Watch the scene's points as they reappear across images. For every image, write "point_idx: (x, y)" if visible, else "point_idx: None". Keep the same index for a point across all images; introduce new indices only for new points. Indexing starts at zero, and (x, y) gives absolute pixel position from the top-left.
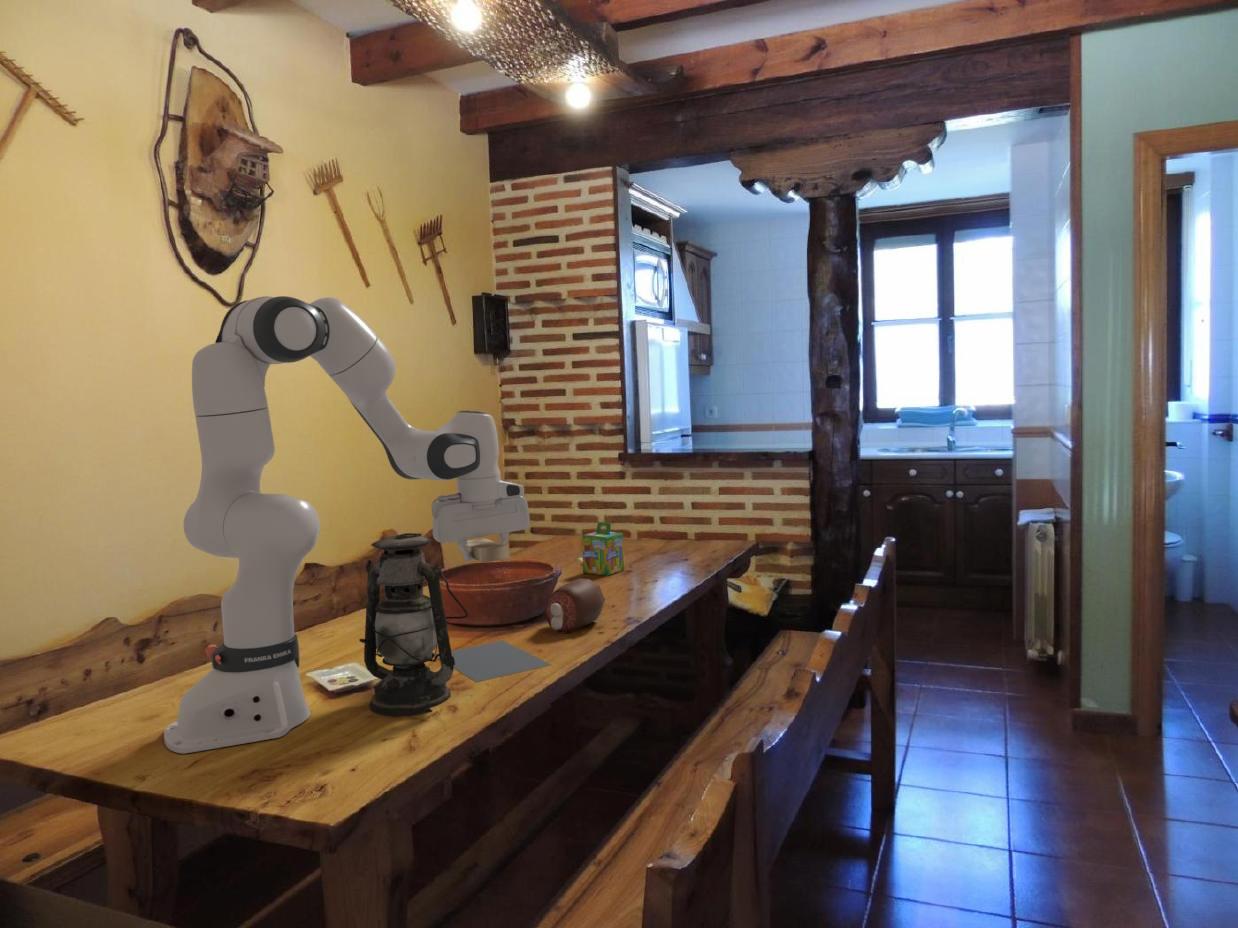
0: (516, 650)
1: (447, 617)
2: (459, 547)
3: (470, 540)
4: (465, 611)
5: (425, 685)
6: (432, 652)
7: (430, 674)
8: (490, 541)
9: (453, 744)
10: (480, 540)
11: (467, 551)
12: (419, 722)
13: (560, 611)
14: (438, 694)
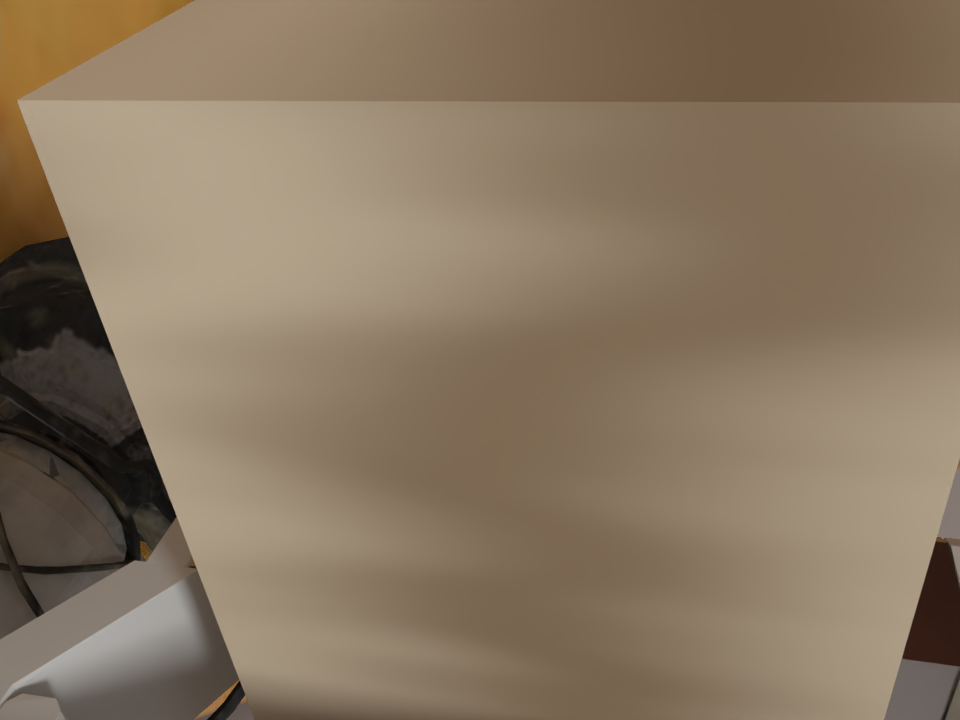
0: None
1: (167, 517)
2: (35, 625)
3: (433, 139)
4: (229, 708)
5: (140, 534)
6: (130, 530)
7: (147, 540)
8: (811, 710)
9: (223, 701)
10: (693, 422)
11: (199, 687)
12: (150, 552)
13: None
14: None
